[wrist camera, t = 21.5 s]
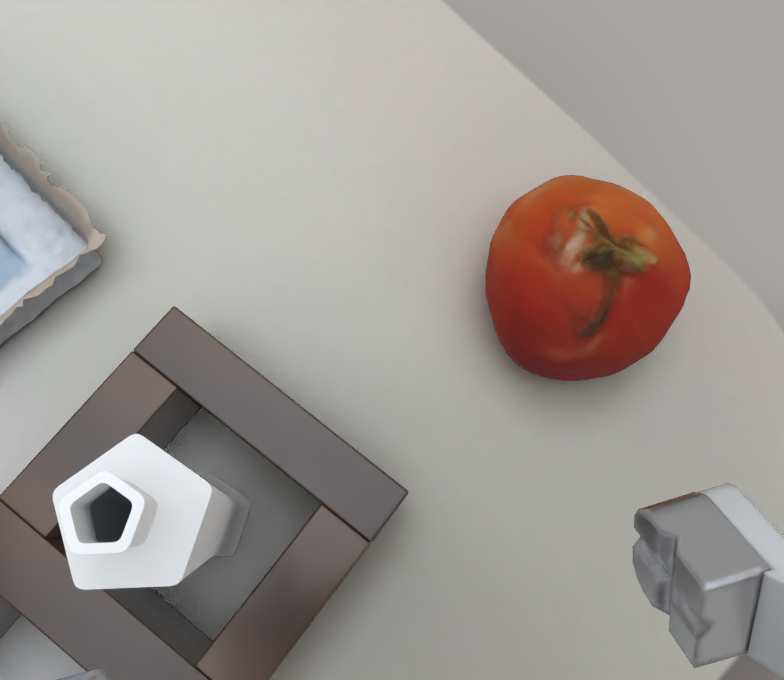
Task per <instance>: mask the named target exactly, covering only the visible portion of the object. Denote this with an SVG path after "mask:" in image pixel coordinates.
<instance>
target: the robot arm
mask: <svg viewBox="0 0 784 680" xmlns="http://www.w3.org/2000/svg"><path fill="white" fill-rule="evenodd" d="M634 528H635V529H636V531H637V532H638V533H639V535H640V536H641V537H640V538H639V539H638V541H637V542H636V543H635V545H634V546H633V565H634V568H635V572H636V576H637V579H638V581H639V583H640V585H641V587H642V590H643V592H644V593H645V595H646V596H647V598H648V600H649V601H650V603H651V604H652V606H654V607H655V608H657V609H659V610H661V611H663V612H665V613H667V614H669V615H670V622H669V632H670V633H671V635H672V636H673V638H674V639H675V641H676V642H677V643H678V645H679V646H680V648H681V649H682V651H683V652H684V654H685V655H686V657H687V658H688V660H689V661H690V663H691V664H692V666H693V667H694V668H697V667H700V666H704V665H707V664H711V663H714V662H717V661H721V660H724V659H728V658H731V657H735V656H738V655H741V654H745V653H748V654H747V656H748V657H749V658H751V659H753V660H754V661H756V662H757V663H759V664H760V665H762V666H764V667H765V668H767V669H768V670H770V671H771V672H773V673H774V674H776V675H777V676H779V677H780V678H782V679H784V536H783V535H782V534H781V533H780V532H779V531H778V530H777V529H776V528H775V527H774V525H773V524H772V523H771V522H770V521H769V520H768V519H767V518H766V517H765V516H764V515H763V514H762V513H761V512H760V511H759V510H758V509H757V508H756V507H755V506H754V505H753V504H752V503H751V502H750V501H749V500H748V498H747V497H746V496H745V495H744V494H743V493H742V492H741V491H740V490H739V489H738V488H737V487H736V486H734V485H732V484H730V483H727V484H723V485H719V486H716V487H713V488H709V489H706V490H703V491H699V492H697V493H696V492H693V493H690V494H687V495H683V496H680V497H677V498H674V499H670V500H667V501H664V502H661V503H657V504H654V505H651V506H648V507H645V508H641V509H638V511H637V513H636V514H635V519H634ZM58 680H112V679H111V678H110V676H109V675H108V673H107V672H106V670H105V669H104V668H99V669H95V670H92V671H88V672H84V673H80V674H77V675H73V676H69V677H65V678H61V679H58Z"/></svg>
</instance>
